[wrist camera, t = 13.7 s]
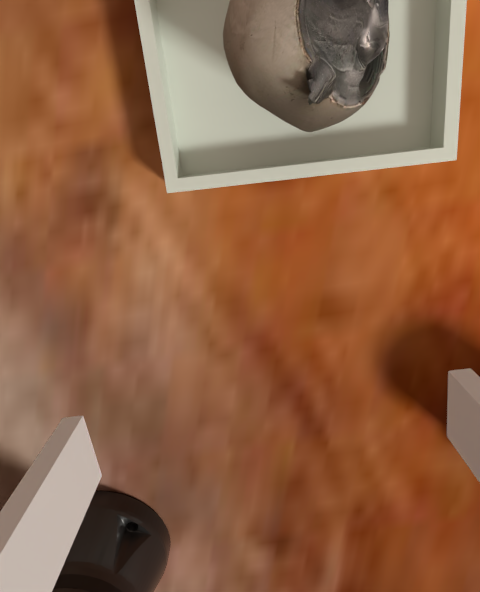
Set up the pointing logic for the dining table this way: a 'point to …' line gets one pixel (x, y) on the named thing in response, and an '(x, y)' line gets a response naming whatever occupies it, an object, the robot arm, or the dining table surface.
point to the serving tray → (277, 133)
